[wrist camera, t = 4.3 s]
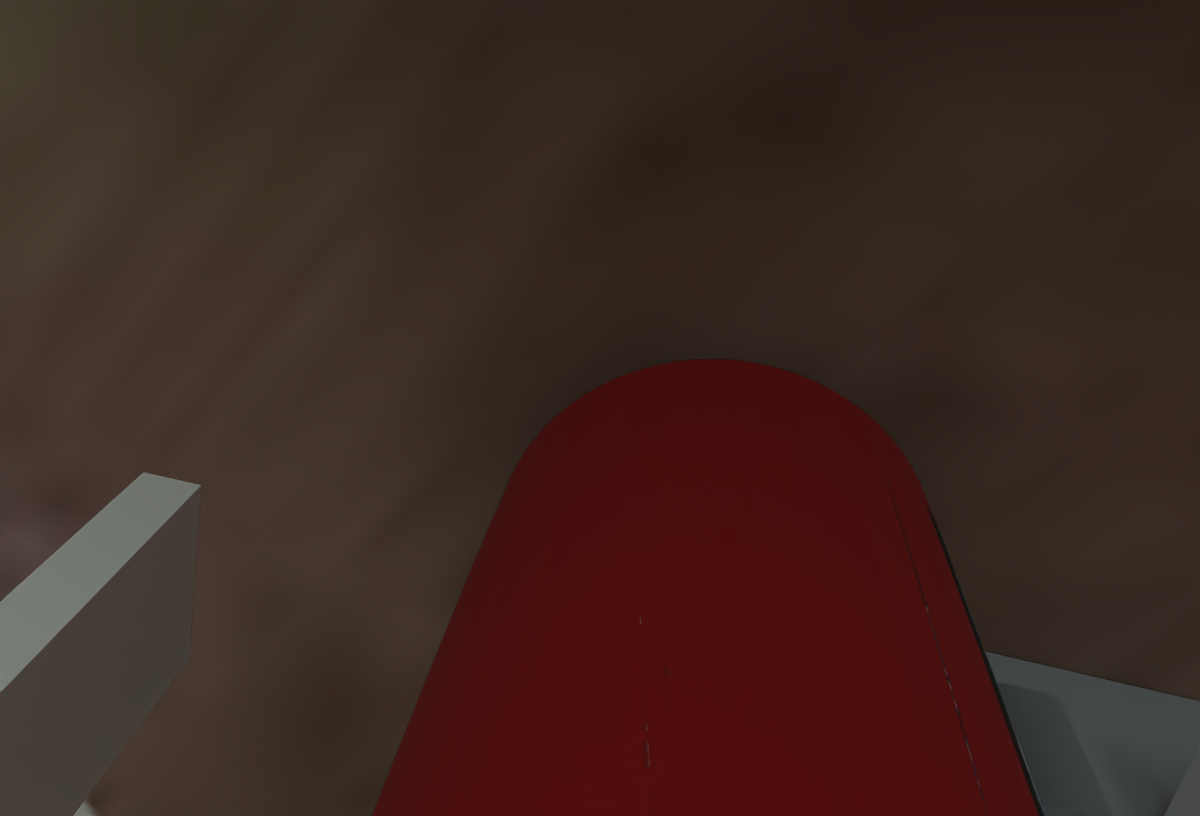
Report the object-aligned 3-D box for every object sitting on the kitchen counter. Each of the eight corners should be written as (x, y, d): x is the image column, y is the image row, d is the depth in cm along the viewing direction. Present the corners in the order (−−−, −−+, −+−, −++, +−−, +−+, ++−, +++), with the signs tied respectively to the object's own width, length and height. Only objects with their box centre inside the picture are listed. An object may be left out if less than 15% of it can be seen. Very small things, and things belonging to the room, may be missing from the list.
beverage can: (732, 775, 20) (742, 1839, 9) (422, 551, 19) (-19, 1446, 8) (1022, 521, 17) (1550, 1553, 6) (686, 245, 16) (604, 908, 5)
